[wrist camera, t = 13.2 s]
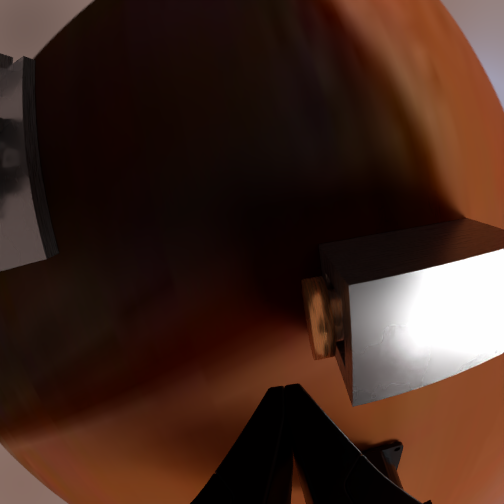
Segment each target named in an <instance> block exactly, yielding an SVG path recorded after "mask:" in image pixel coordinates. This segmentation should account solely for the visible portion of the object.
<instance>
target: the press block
mask: <svg viewBox="0 0 504 504" xmlns="http://www.w3.org/2000/svg"><path fill="white" fill-rule="evenodd" d="M318 246H319V253H320V261H321V269H322V277H323V279H324V281H325V284H326V287H327V290H328V289H333V288H335V290H336V291H337V293H338V295H339V296H340V298H341V300H342V311H343V326H344V340H341V341H336V354H335V357H336V360H337V363H338V366H339V369H340V371H341V374H342V377H343V380H344V383H345V386H346V389H347V392H348V395H349V398H350V401H351V403H352V406H358V405H362V404H366V403H370V402H373V401H377V400H381V399H385V398H388V397H392V396H395V395H398V394H402V393H405V392H408V391H411V390H414V389H417V388H420V387H423V386H426V385H429V384H432V383H434V382H437V381H440V380H443V379H445V378H448V377H450V376H453V375H455V374H458V373H460V372H463V371H465V370H467V369H470V368H472V367H474V366H477V365H479V364H481V363H483V362H485V361H488V360H490V359H492V358H494V357H496V356H498V355H500V354H502V353H504V230H503V229H500V228H497V227H494V226H491V225H488V224H485V223H481V222H478V221H475V220H471V219H468V218H465V219H459V220H454V221H448V222H443V223H437V224H431V225H426V226H420V227H415V228H409V229H403V230H398V231H392V232H387V233H381V234H375V235H370V236H364V237H358V238H353V239H347V240H341V241H336V242H330V243H324V244H318Z"/></svg>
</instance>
